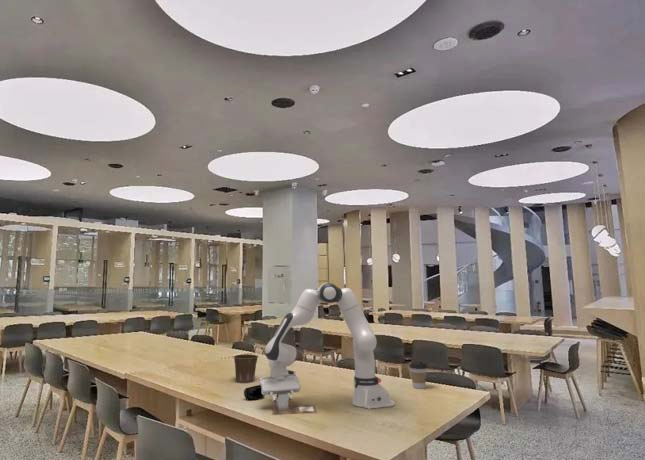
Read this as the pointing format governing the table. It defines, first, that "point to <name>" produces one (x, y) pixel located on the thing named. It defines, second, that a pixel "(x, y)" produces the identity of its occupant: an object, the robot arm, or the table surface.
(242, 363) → the plant pot
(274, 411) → the walnut board
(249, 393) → the end cap
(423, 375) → the coffee cup
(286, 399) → the tall grey pillar
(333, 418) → the table surface
